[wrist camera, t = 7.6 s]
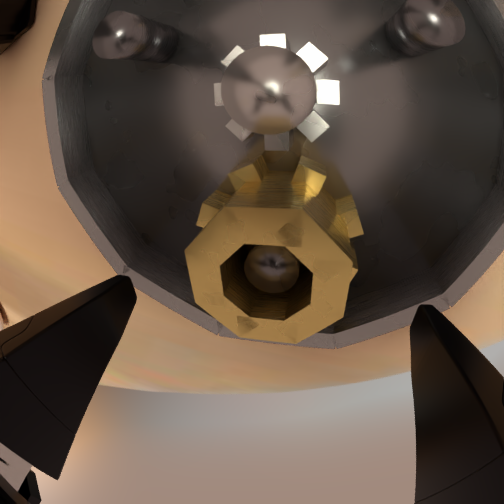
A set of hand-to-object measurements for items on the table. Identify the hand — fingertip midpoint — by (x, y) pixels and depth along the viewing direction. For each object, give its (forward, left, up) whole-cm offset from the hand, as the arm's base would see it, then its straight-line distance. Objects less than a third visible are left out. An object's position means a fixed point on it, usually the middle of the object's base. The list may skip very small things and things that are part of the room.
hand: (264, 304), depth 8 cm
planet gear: (0, 0, -5) cm, 5 cm away
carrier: (-6, 0, -6) cm, 8 cm away
